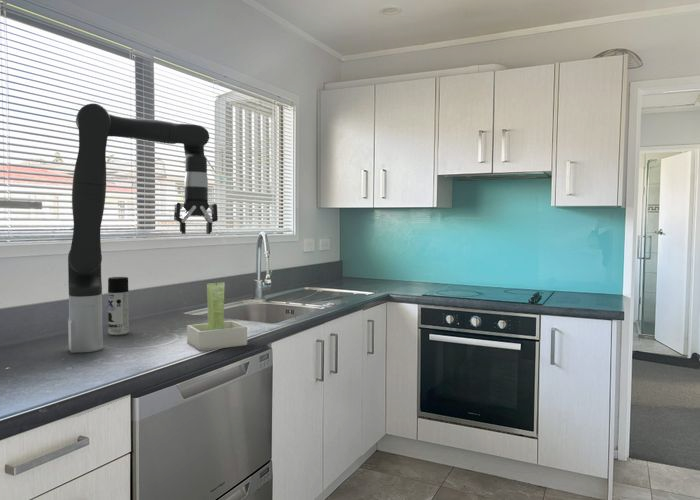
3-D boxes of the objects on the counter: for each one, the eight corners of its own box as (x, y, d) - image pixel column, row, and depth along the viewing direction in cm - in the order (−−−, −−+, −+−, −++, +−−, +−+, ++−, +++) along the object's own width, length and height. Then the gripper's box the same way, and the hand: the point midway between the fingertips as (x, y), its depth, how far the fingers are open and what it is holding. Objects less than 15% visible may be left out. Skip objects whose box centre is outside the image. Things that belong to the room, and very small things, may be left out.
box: (199, 351, 165) (199, 332, 165) (187, 343, 175) (187, 325, 175) (247, 344, 174) (247, 326, 174) (233, 337, 184) (233, 320, 184)
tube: (209, 339, 177) (209, 281, 176) (224, 339, 178) (224, 281, 176) (206, 343, 171) (206, 283, 170) (222, 343, 172) (222, 283, 171)
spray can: (105, 333, 188) (104, 277, 187) (124, 330, 193) (123, 276, 192) (113, 336, 184) (112, 279, 182) (132, 333, 188) (131, 277, 187)
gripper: (178, 184, 172) (178, 234, 173) (220, 186, 180) (220, 234, 181) (171, 185, 179) (171, 233, 180) (212, 187, 187) (212, 233, 188)
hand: (196, 233), depth 180 cm, fingers open, 8 cm apart
